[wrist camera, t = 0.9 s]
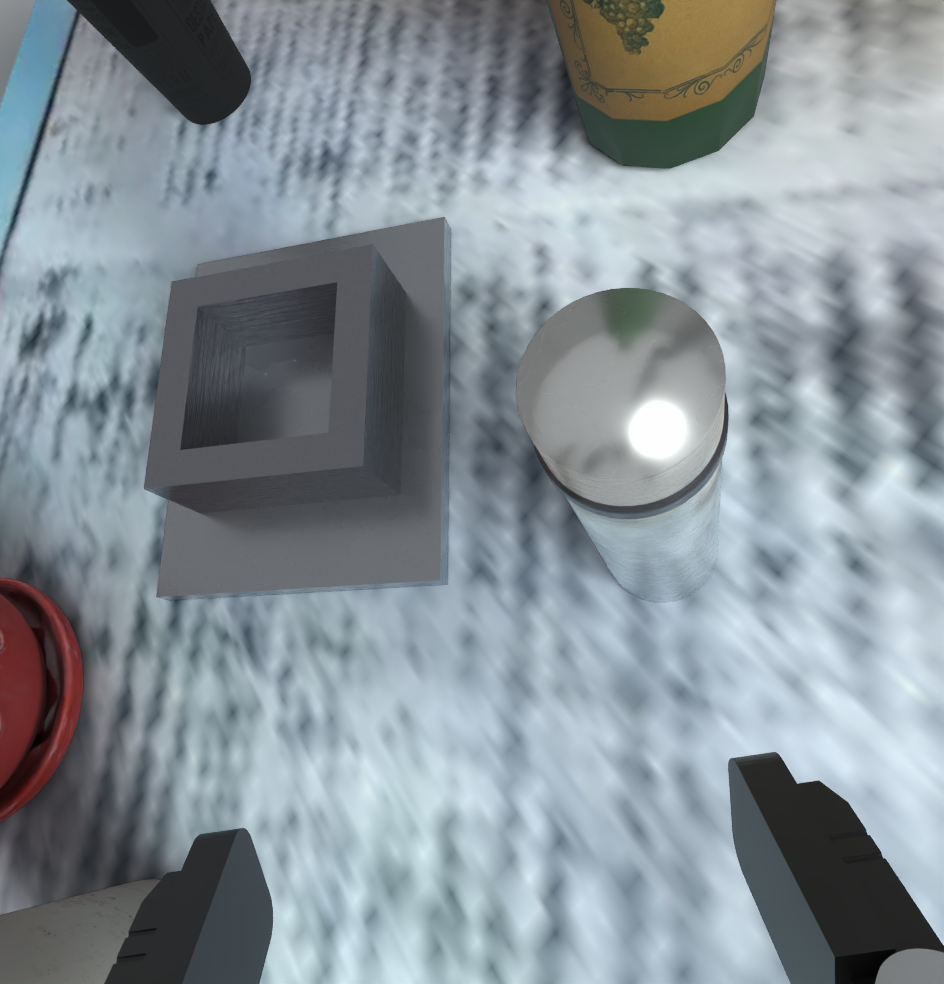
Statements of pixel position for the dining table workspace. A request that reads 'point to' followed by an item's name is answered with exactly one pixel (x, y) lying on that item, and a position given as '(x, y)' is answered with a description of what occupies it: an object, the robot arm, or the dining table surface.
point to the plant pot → (34, 691)
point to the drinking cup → (176, 51)
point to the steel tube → (633, 432)
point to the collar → (307, 418)
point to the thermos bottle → (69, 936)
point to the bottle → (663, 73)
